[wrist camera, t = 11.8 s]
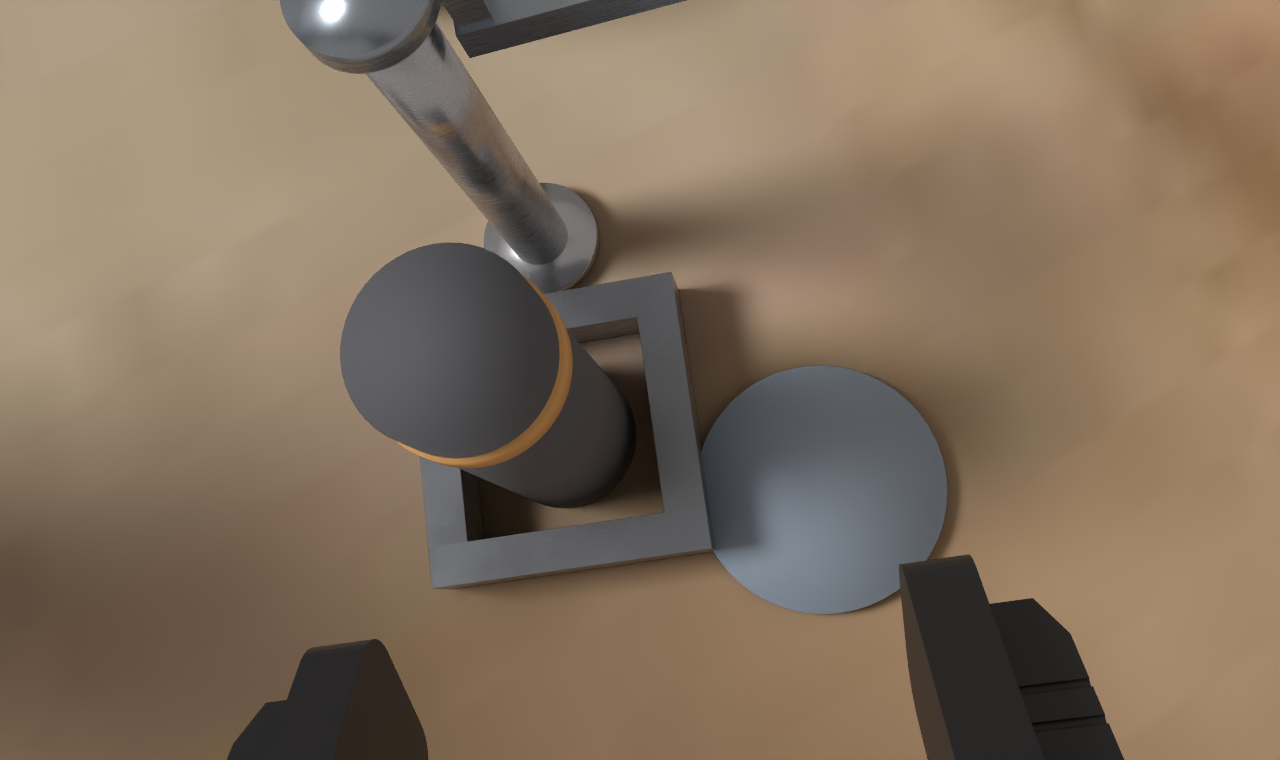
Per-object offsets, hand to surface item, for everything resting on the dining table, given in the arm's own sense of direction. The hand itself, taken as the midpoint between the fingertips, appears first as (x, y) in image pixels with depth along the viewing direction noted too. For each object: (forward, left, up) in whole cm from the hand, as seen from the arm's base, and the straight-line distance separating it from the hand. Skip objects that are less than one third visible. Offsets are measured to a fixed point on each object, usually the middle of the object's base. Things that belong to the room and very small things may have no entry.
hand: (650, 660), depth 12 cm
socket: (-9, +1, -24) cm, 26 cm away
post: (-14, +6, -24) cm, 28 cm away
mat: (-1, +5, -24) cm, 25 cm away
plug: (-9, +1, -24) cm, 26 cm away
